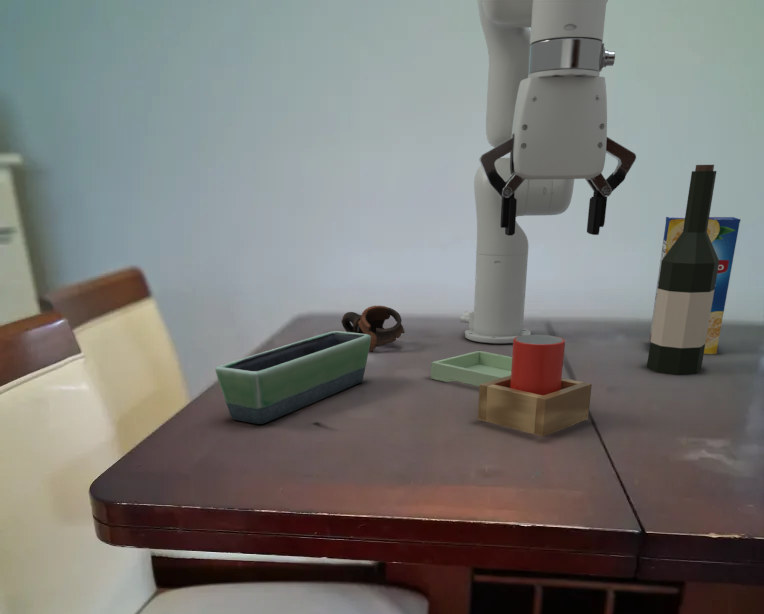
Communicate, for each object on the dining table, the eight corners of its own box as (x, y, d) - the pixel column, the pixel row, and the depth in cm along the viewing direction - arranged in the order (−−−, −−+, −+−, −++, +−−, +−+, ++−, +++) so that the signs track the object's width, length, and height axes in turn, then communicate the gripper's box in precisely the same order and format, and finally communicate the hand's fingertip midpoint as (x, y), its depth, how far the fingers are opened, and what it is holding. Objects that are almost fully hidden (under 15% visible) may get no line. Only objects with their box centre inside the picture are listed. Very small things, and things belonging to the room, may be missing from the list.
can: (498, 418, 94) (502, 339, 90) (527, 408, 98) (533, 332, 94) (538, 429, 90) (545, 346, 86) (567, 418, 94) (575, 338, 90)
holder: (477, 423, 95) (479, 384, 93) (524, 407, 101) (526, 370, 99) (542, 441, 88) (545, 399, 86) (587, 423, 94) (592, 383, 92)
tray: (430, 378, 116) (430, 362, 115) (478, 366, 123) (478, 350, 122) (505, 396, 106) (506, 378, 105) (552, 381, 114) (553, 364, 112)
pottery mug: (405, 343, 143) (412, 309, 136) (391, 375, 137) (397, 340, 130) (346, 325, 143) (349, 290, 137) (330, 356, 138) (333, 321, 131)
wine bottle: (705, 375, 116) (742, 164, 104) (649, 373, 118) (679, 164, 105) (696, 363, 123) (729, 164, 111) (643, 361, 125) (670, 165, 113)
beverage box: (648, 343, 138) (665, 216, 129) (711, 346, 136) (734, 217, 127) (650, 351, 132) (669, 218, 123) (716, 354, 130) (740, 219, 121)
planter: (261, 430, 93) (257, 373, 90) (217, 421, 96) (212, 366, 93) (373, 381, 115) (373, 334, 112) (334, 375, 118) (333, 330, 115)
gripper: (635, 68, 83) (617, 232, 90) (479, 70, 83) (473, 233, 90) (656, 58, 76) (635, 236, 83) (487, 60, 76) (480, 237, 83)
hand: (551, 234), depth 86 cm, fingers open, 9 cm apart
